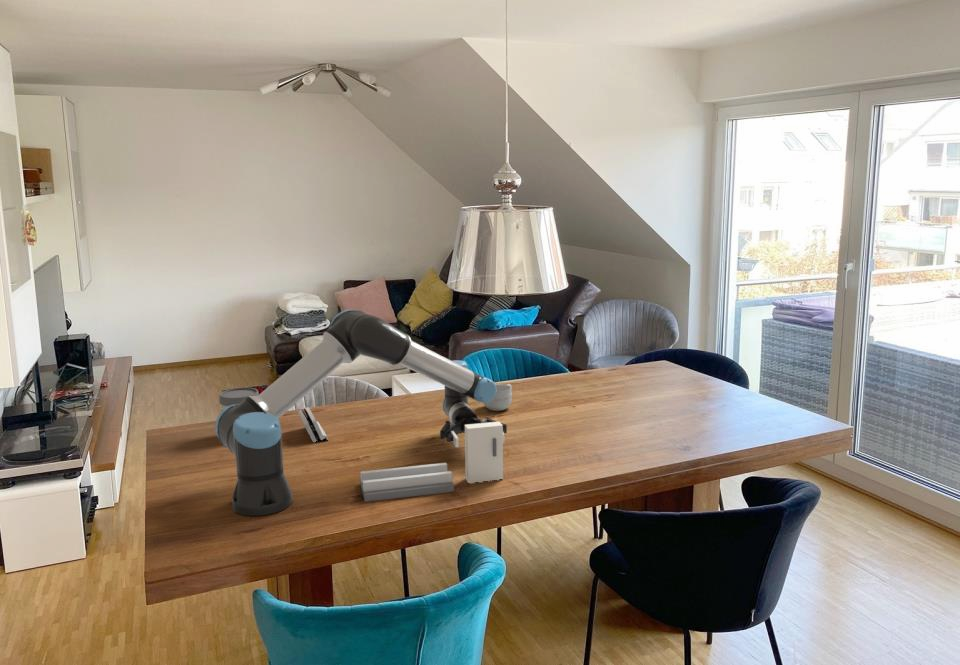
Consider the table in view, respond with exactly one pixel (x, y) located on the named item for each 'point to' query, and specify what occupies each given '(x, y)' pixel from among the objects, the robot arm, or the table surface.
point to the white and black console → (312, 422)
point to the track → (406, 482)
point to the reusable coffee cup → (236, 396)
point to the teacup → (501, 398)
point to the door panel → (483, 452)
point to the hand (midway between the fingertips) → (480, 440)
